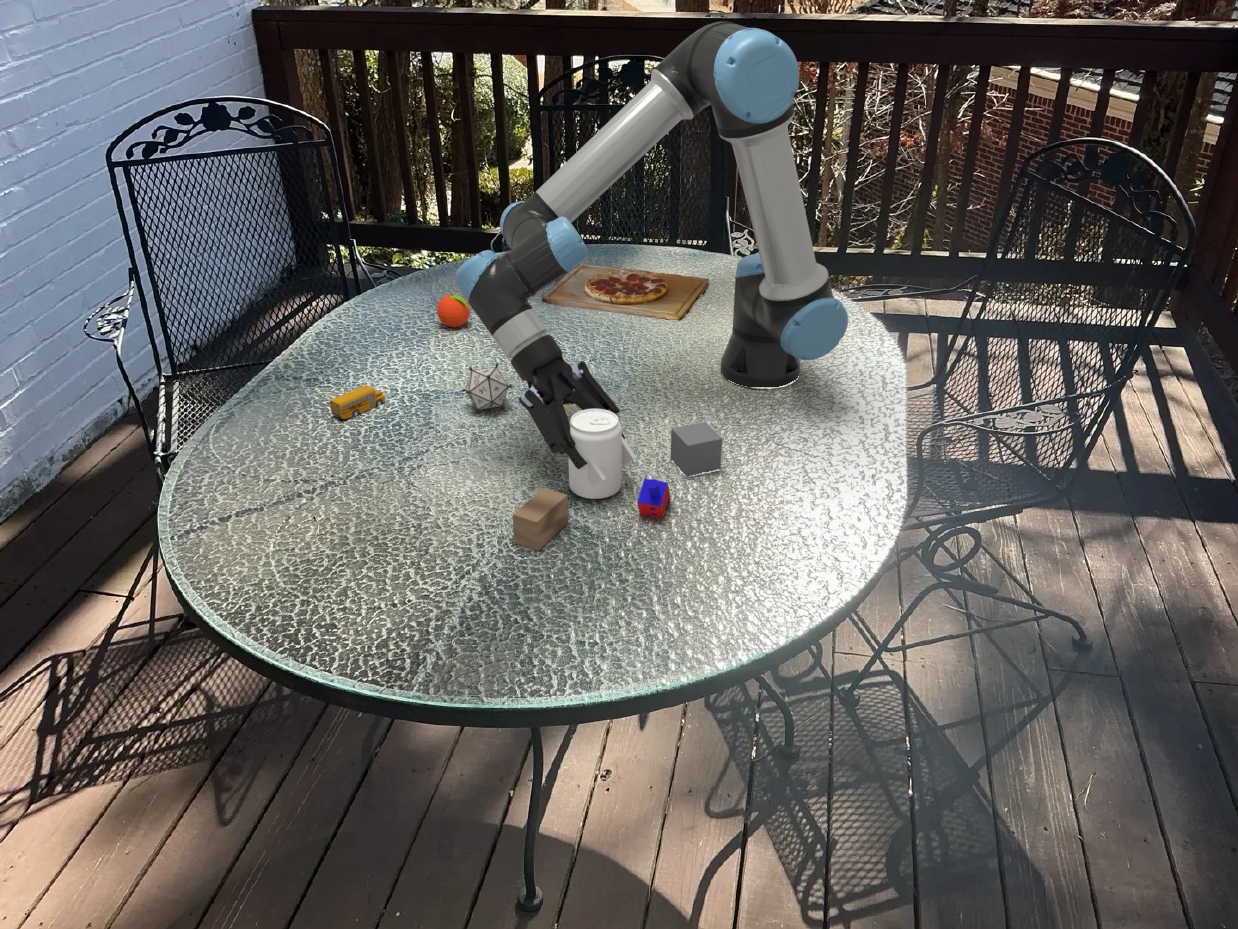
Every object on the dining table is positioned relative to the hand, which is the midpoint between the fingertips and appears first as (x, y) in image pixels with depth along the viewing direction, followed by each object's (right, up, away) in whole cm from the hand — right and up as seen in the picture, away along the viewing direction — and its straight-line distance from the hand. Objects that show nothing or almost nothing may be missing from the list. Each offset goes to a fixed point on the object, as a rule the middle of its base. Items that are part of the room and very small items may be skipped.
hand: (614, 471), depth 142 cm
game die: (-23, +11, +26) cm, 37 cm away
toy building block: (+6, -6, -2) cm, 9 cm away
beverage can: (-3, -3, +4) cm, 5 cm away
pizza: (+2, +40, +76) cm, 86 cm away
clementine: (-34, +30, +59) cm, 74 cm away
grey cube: (+13, +1, +9) cm, 16 cm away
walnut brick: (-11, -9, -7) cm, 15 cm away
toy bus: (-46, +10, +26) cm, 54 cm away
